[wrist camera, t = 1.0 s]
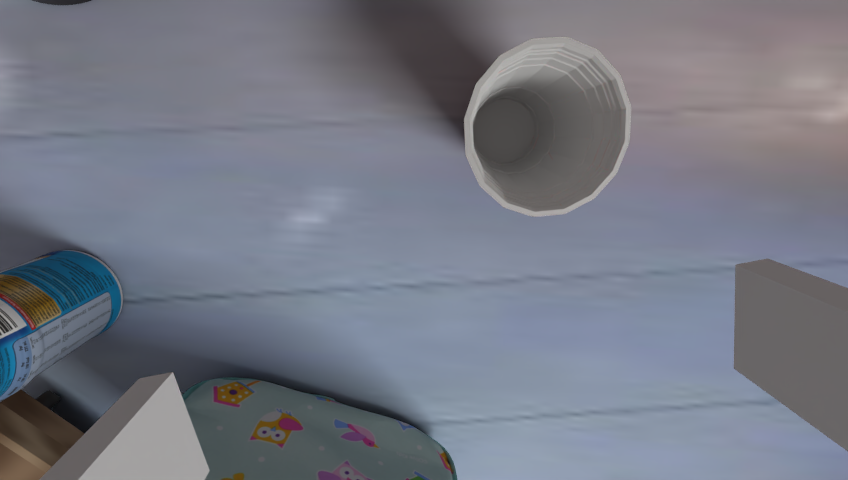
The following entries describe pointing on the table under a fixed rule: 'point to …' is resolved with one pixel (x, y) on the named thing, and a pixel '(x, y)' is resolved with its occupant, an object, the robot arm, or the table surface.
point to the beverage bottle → (52, 312)
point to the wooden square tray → (32, 436)
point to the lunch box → (304, 437)
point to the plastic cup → (547, 126)
